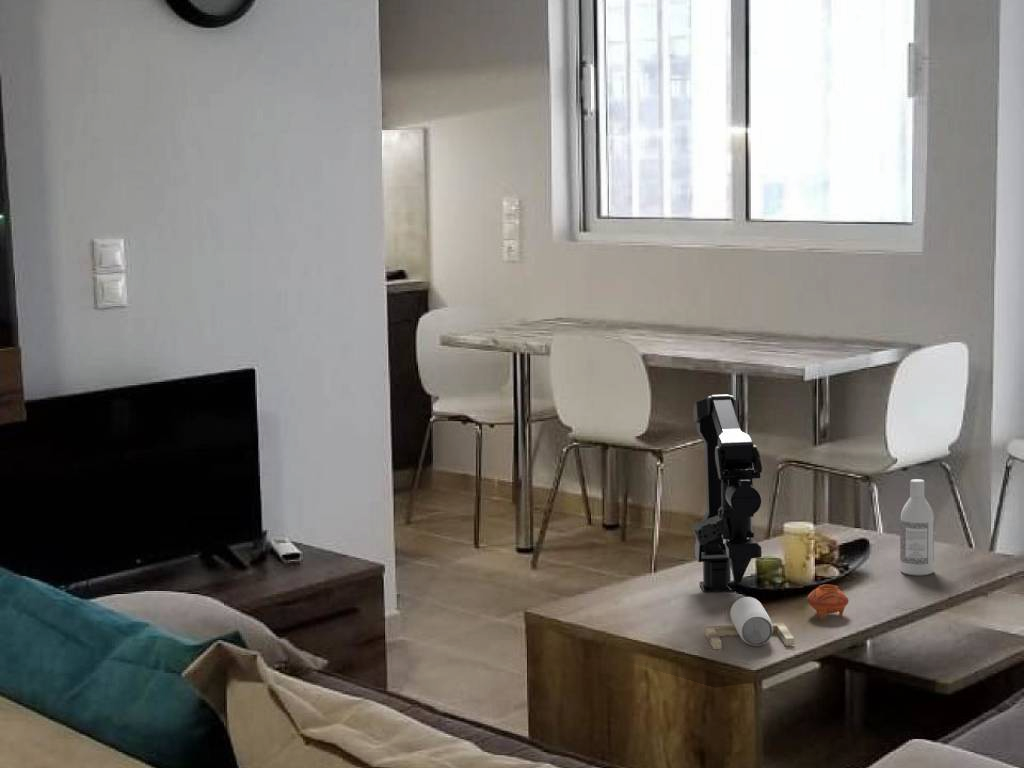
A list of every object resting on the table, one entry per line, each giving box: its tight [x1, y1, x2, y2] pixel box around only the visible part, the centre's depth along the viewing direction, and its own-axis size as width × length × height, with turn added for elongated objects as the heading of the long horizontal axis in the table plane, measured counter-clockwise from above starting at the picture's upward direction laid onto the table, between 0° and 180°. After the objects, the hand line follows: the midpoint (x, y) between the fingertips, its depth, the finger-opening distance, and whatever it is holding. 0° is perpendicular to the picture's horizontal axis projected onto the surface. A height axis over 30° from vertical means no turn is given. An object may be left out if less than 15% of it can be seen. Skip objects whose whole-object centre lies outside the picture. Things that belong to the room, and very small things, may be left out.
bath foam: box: [899, 478, 935, 576], centre depth 347 cm, size 7×7×20 cm
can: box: [730, 596, 773, 647], centre depth 306 cm, size 6×6×12 cm
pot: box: [806, 584, 850, 621], centre depth 319 cm, size 8×8×7 cm
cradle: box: [704, 622, 795, 650], centre depth 305 cm, size 10×15×2 cm, turn 92°
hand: (737, 582), depth 316 cm, fingers closed
